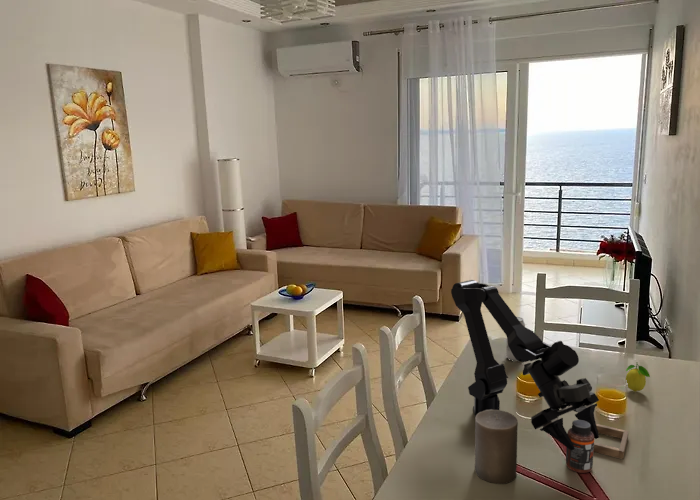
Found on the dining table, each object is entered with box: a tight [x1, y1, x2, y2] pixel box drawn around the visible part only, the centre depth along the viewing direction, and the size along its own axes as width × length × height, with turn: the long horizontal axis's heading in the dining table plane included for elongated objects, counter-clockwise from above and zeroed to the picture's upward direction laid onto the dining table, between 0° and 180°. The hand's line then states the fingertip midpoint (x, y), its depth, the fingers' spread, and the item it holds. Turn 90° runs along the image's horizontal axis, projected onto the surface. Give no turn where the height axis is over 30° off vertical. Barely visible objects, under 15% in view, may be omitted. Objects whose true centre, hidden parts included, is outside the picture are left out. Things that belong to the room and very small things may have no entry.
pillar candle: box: [474, 409, 518, 485], centre depth 127 cm, size 10×10×15 cm
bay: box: [594, 423, 629, 460], centre depth 139 cm, size 10×11×2 cm
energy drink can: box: [505, 316, 526, 362], centre depth 192 cm, size 6×6×15 cm
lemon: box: [625, 363, 651, 393], centre depth 165 cm, size 7×6×10 cm
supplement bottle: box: [565, 419, 595, 474], centre depth 128 cm, size 6×6×11 cm
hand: (585, 444), depth 127 cm, fingers open, 9 cm apart
